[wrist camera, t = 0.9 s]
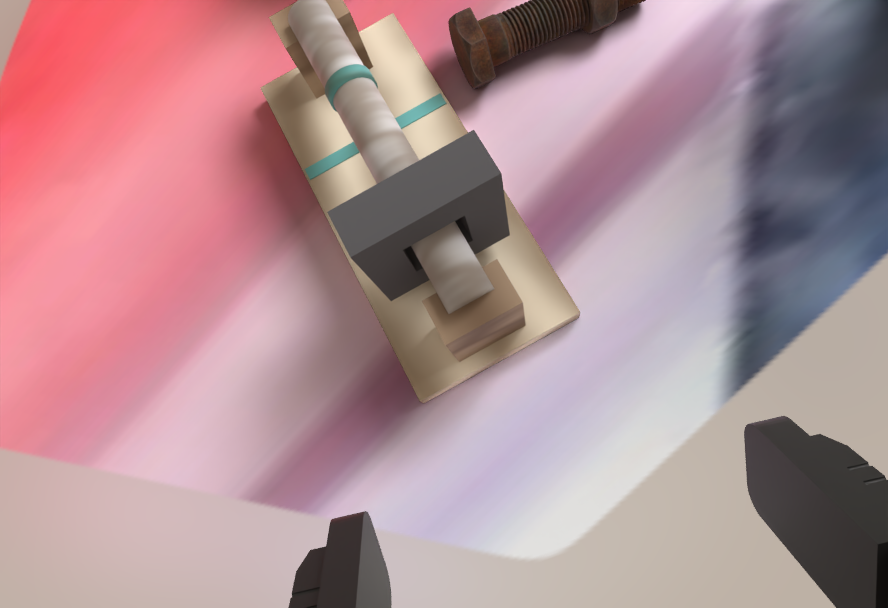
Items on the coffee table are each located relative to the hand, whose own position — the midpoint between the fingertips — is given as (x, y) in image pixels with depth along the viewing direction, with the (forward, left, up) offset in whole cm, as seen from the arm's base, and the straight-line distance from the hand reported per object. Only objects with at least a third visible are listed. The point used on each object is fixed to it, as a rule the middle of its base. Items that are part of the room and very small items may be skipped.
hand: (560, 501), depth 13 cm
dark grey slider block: (-1, -16, -25) cm, 29 cm away
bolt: (-17, -28, -28) cm, 43 cm away
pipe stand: (-1, -22, -28) cm, 35 cm away
